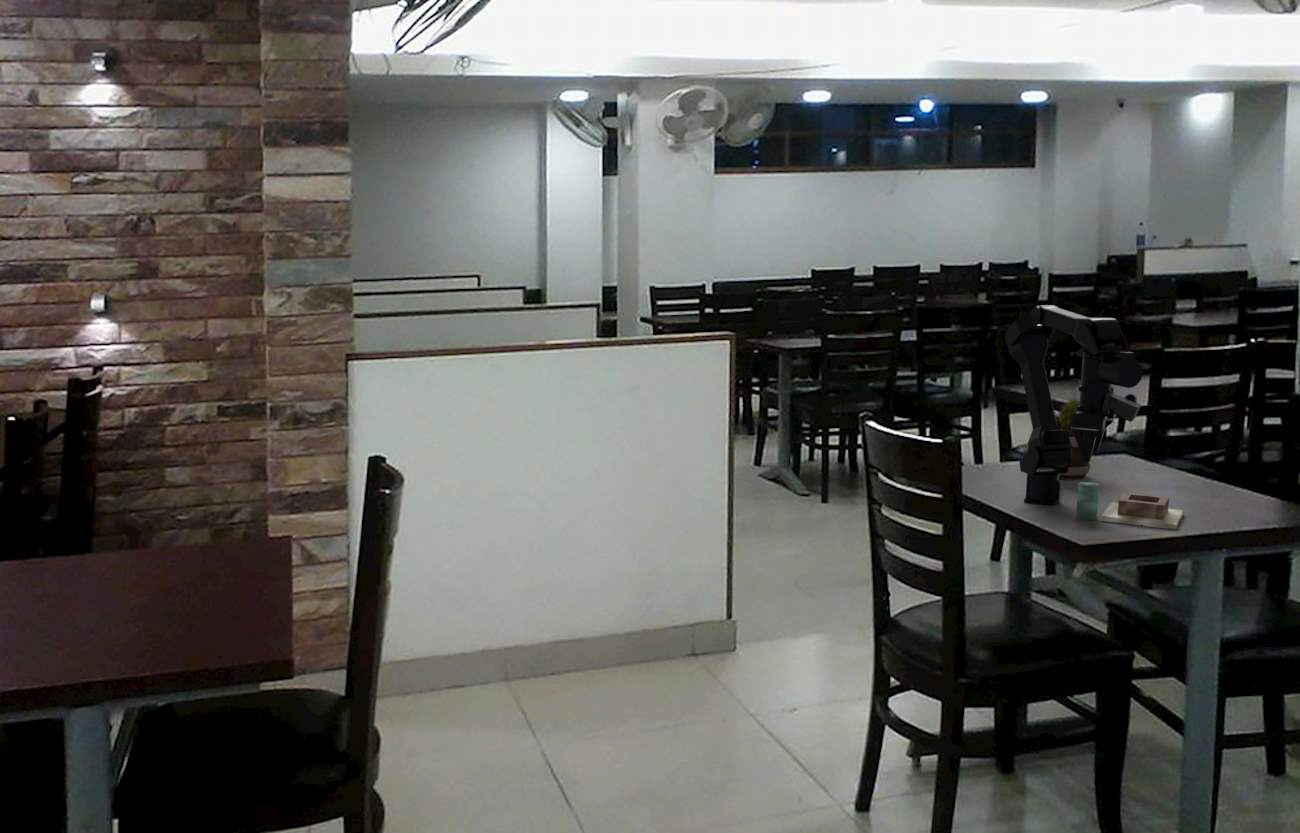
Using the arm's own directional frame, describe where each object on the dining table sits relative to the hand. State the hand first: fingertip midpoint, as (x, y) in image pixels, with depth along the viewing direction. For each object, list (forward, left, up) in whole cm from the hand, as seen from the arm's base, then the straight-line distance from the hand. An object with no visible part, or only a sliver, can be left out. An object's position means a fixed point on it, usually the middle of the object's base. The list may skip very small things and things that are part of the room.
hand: (1090, 457), depth 258 cm
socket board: (+10, +6, -12) cm, 17 cm away
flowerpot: (-12, +41, -13) cm, 44 cm away
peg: (0, 0, -12) cm, 12 cm away
